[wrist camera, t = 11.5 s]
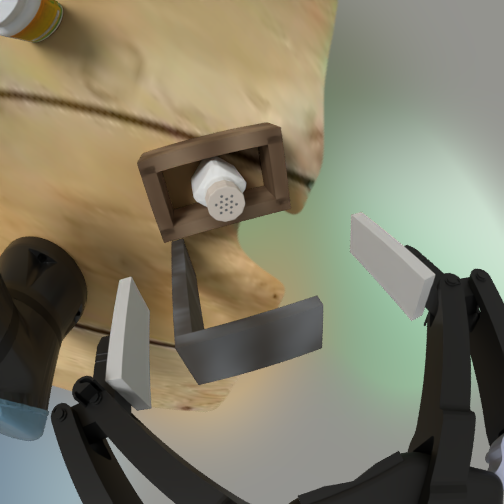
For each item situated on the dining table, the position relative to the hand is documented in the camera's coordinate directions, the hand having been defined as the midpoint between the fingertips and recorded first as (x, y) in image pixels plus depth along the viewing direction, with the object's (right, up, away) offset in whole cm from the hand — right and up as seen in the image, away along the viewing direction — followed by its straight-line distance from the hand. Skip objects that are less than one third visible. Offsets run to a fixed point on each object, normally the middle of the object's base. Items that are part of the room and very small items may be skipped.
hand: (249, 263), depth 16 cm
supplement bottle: (-23, +26, -1) cm, 34 cm away
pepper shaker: (-4, +10, +15) cm, 18 cm away
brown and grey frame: (-3, +6, +17) cm, 19 cm away
